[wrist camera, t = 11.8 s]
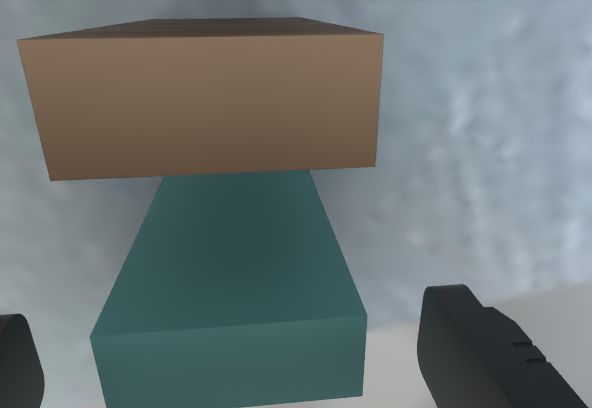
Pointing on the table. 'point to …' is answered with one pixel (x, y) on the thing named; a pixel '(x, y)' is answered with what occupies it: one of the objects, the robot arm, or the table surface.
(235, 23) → the tile
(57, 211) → the table surface
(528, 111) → the table surface
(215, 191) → the tile
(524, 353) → the robot arm
